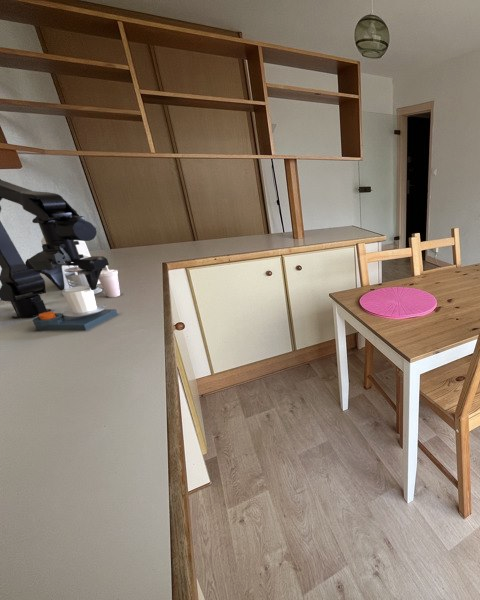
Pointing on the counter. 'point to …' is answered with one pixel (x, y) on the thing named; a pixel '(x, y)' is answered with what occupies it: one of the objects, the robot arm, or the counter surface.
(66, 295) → the white short tapered cylinder
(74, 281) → the french press
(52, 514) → the counter surface
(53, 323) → the scale
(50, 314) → the tare button
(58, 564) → the counter surface
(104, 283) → the smoothie
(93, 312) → the weighing pan
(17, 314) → the robot arm
